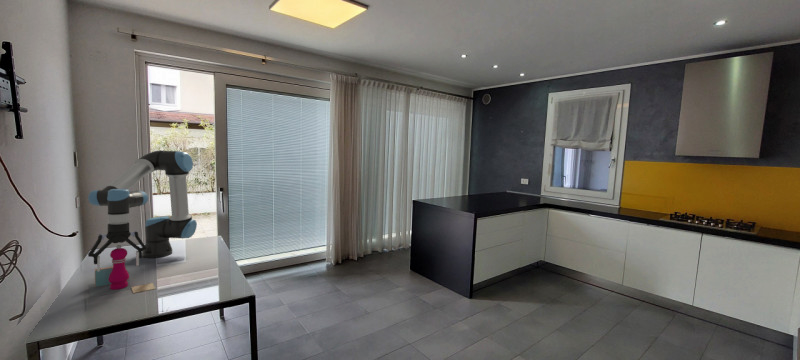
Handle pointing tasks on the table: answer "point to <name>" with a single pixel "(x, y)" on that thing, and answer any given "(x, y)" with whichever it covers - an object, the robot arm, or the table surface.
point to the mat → (104, 290)
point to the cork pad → (143, 288)
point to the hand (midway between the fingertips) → (118, 267)
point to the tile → (103, 276)
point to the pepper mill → (118, 269)
